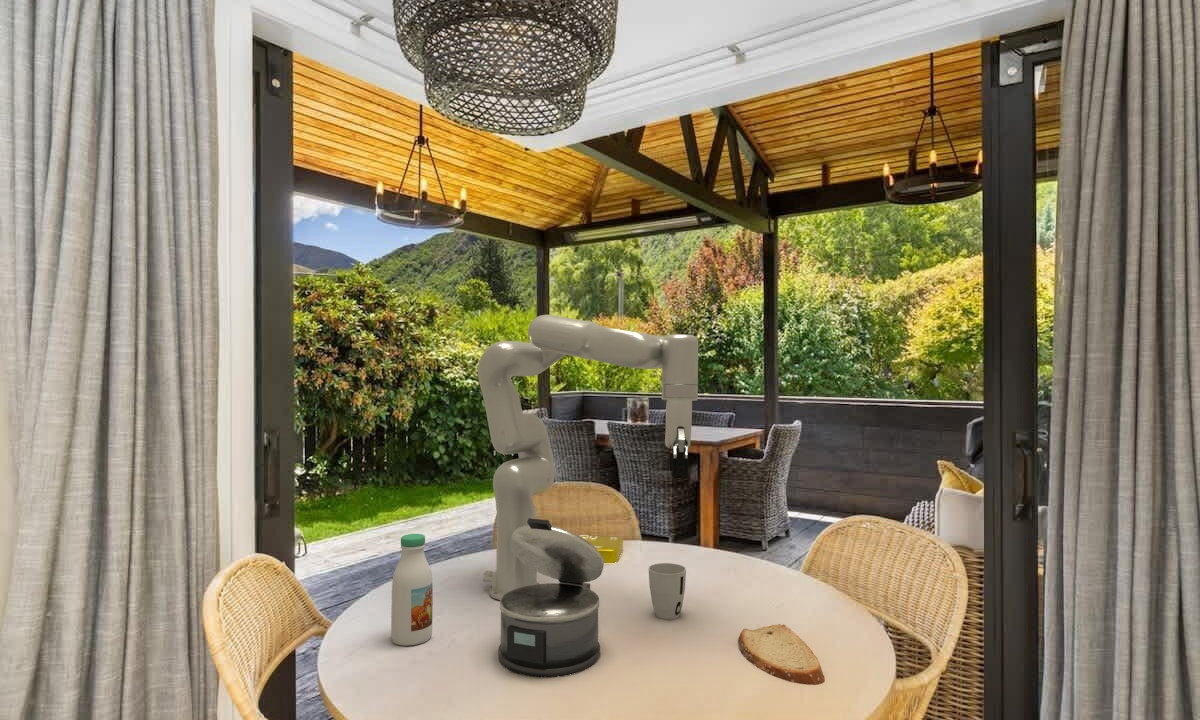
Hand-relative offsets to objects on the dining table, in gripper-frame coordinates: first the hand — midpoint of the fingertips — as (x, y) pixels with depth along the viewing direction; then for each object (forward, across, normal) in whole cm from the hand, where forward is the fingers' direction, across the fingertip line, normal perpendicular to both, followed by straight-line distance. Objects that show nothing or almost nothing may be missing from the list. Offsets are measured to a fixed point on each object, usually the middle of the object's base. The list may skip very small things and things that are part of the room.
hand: (678, 474), depth 134 cm
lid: (+14, +15, -24) cm, 31 cm away
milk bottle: (+32, +12, -52) cm, 62 cm away
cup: (+31, -4, -2) cm, 32 cm away
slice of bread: (+31, +15, +18) cm, 39 cm away
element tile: (+32, -50, -21) cm, 63 cm away
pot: (+31, +15, -24) cm, 42 cm away
